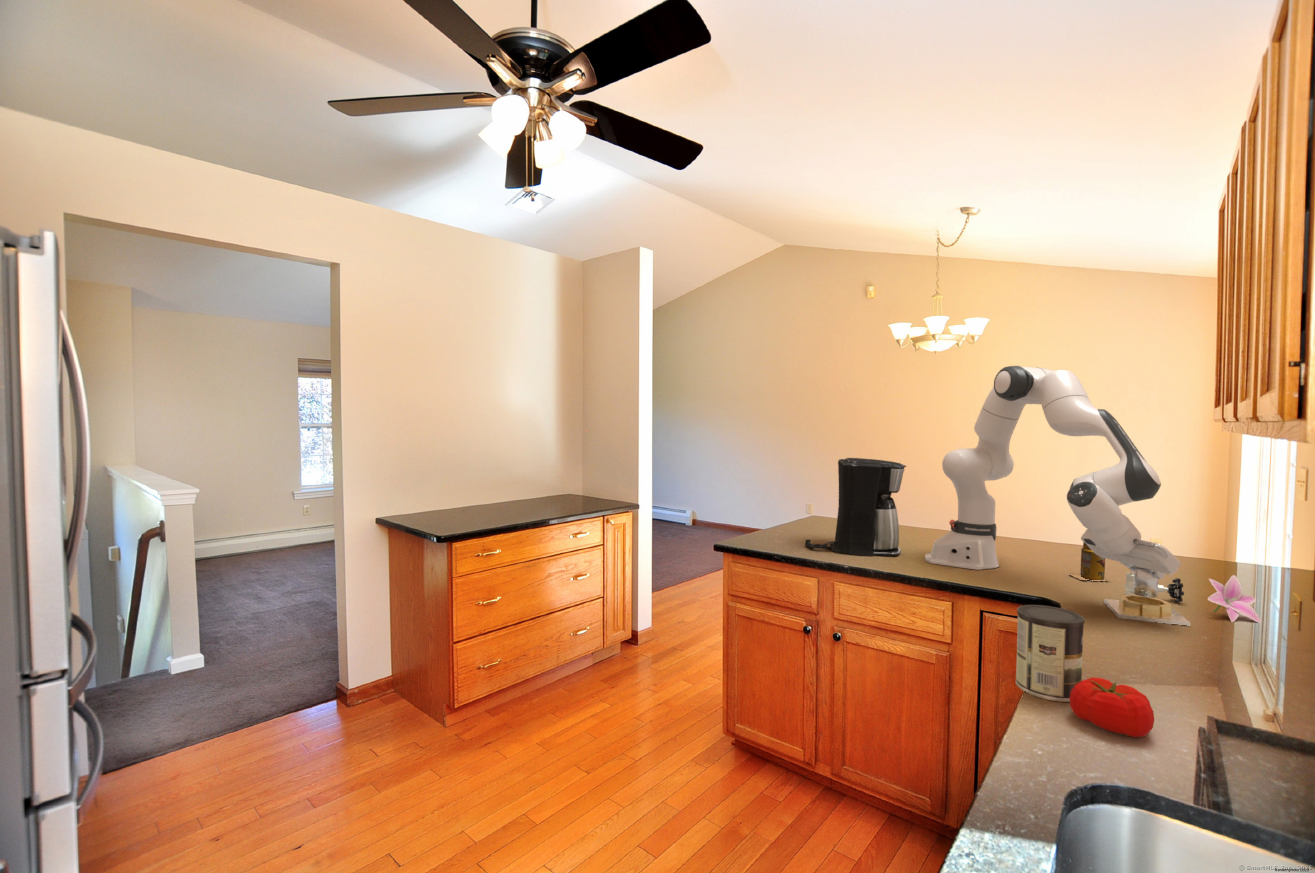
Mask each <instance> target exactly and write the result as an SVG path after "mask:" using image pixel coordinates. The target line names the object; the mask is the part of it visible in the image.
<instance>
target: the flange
mask: <svg viewBox="0 0 1315 873" xmlns="http://www.w3.org/2000/svg"><path fill="white" fill-rule="evenodd" d="M1118 598H1119V599H1110V598H1103V603H1104V604H1105V605H1106V606H1107V607H1108V608H1109V610H1110V611H1111V612H1112V613H1113V614H1114V615H1115V617H1117V618H1118V619H1124V620H1130V621H1131V620H1132V621H1141V622H1149V623H1155V622H1157V623H1156V624H1163V623H1165V624H1164V625H1171V624H1179V625H1178V626H1180V625H1187V626H1186V627H1188V626H1190V627H1191V622H1190V621H1189V620H1188V619H1187V618H1185V617H1184V616H1183V615H1182V614H1180V613H1179V612H1178V611H1177V610H1175V609H1174V608H1173V607H1172V605H1173V604H1171V603H1170V602H1168V601H1166V600H1165V599H1164V600H1163V599H1160V598H1158V597H1156V598H1151V597H1143V596H1139V595H1129V594H1128V595H1125V594H1122V595H1119V597H1118Z"/></svg>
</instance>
